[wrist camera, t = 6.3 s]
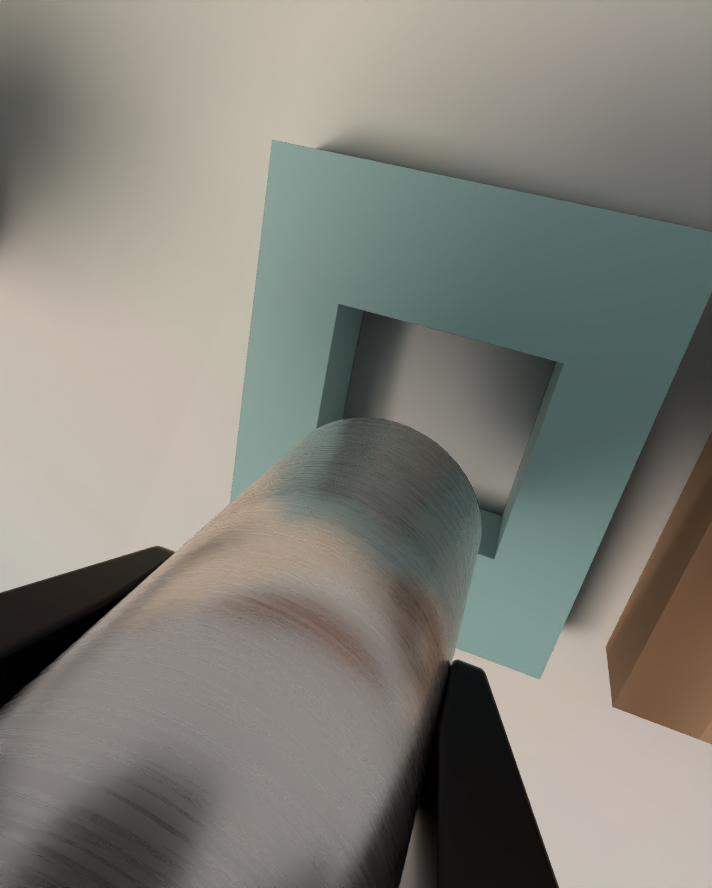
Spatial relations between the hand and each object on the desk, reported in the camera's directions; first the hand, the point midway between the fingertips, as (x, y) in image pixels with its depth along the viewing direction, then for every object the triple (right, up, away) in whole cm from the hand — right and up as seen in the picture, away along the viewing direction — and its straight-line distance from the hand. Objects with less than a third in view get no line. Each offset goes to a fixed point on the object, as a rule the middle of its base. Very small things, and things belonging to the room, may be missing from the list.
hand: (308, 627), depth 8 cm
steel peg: (+1, +1, +3) cm, 3 cm away
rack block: (+3, +4, +9) cm, 10 cm away
